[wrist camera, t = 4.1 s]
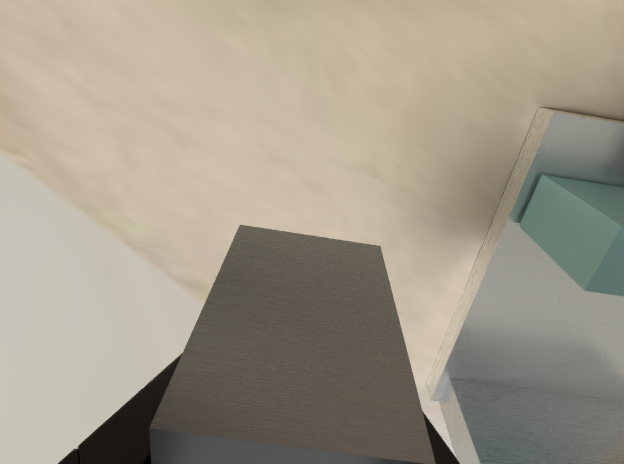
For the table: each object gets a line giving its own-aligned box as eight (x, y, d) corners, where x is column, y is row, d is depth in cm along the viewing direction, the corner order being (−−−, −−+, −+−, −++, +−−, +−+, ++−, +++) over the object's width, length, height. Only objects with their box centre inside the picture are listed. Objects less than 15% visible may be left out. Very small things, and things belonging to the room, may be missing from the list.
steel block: (380, 246, 10) (436, 466, 5) (342, 385, 12) (353, 631, 7) (240, 224, 10) (148, 427, 5) (228, 370, 12) (159, 610, 7)
